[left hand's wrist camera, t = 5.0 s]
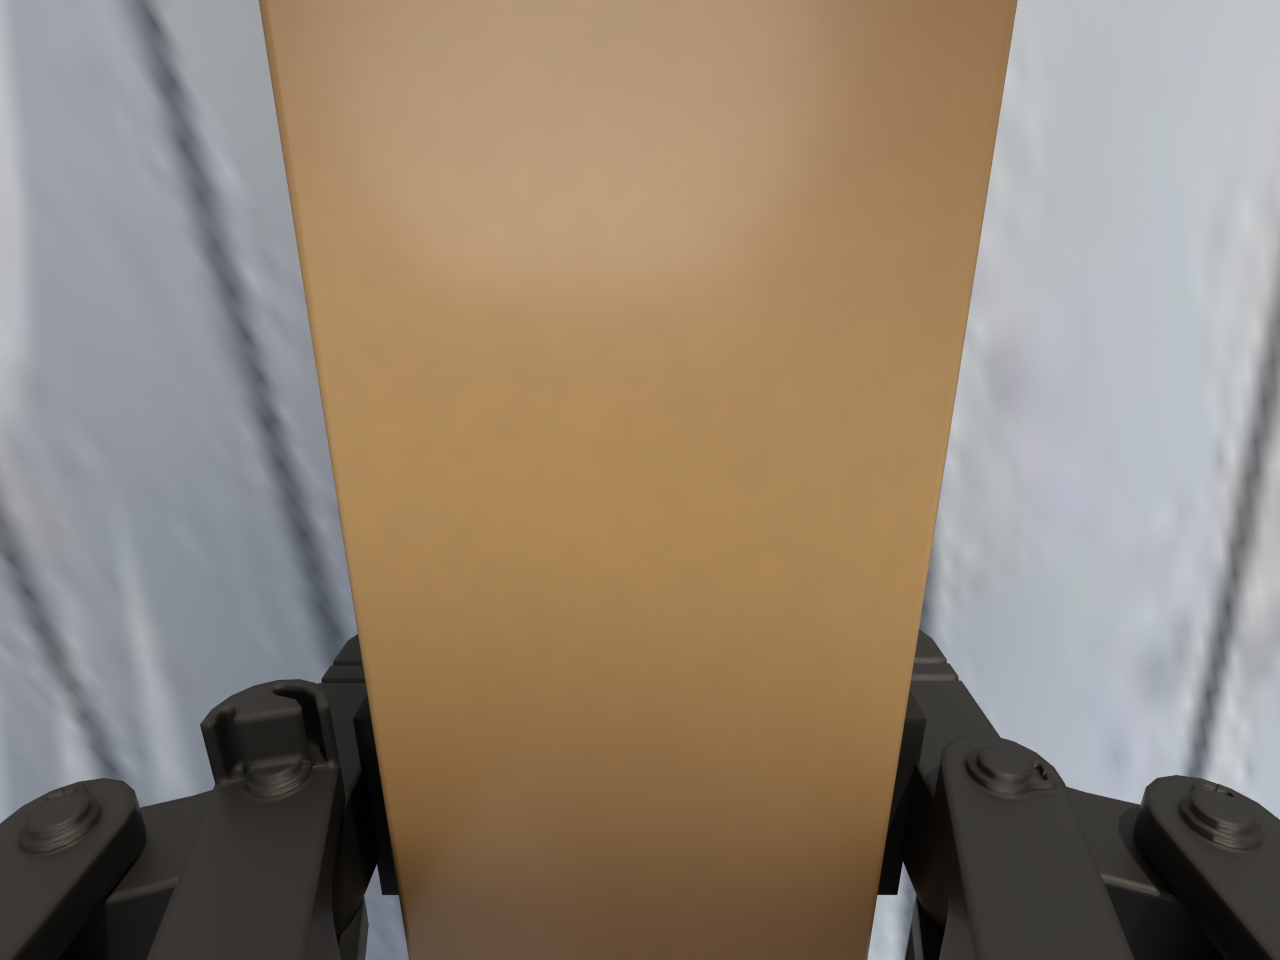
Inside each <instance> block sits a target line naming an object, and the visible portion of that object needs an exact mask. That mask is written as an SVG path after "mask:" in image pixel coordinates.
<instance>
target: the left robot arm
mask: <svg viewBox="0 0 1280 960" xmlns="http://www.w3.org/2000/svg"><path fill="white" fill-rule="evenodd" d="M946 660H947V659H946V658H945V656H944V655H943V654H942V652H941V651H940V649H939V648H938V646H937V645H936V643H935V642H934V641H933V639H932V638H930V637H929V636H928V635H926V634H925V633H923V632H922V631H920V630H919V632H918V638H917V645H916V651H915V657H914V664H913V670H912V676H911V683H910V689H909V696H908V702H907V708H906V715H905V721H904V728H903V734H902V740H901V747H900V753H899V759H898V766H897V772H896V779H895V785H894V791H893V798H892V804H891V810H890V817H889V823H888V830H887V836H886V842H885V849H884V855H883V862H882V868H881V874H880V881H879V887H878V893H877V895H897V893H898V887H899V881H900V875H901V869H902V863H903V862H904V865H905V867H906V870H907V872H908V874H909V877H910V879H911V882H912V884H913V887H914V889H915V892H916V899H915V905H914V910H913V916H912V921H911V927H910V932H909V938H908V943H907V949H906V955H905V960H1280V820H1279V819H1278V818H1277V817H1275V816H1274V815H1273V814H1272V813H1270V812H1269V811H1268V810H1266V809H1265V808H1264V807H1262V806H1261V805H1260V804H1259V803H1257V802H1255V801H1253V800H1251V799H1249V798H1248V797H1246V796H1244V795H1242V794H1240V793H1238V792H1236V791H1234V790H1232V789H1231V788H1228V787H1225V786H1222V785H1220V784H1216V783H1214V782H1210V781H1207V780H1204V779H1201V778H1193V777H1186V776H1179V775H1174V776H1167V777H1161V778H1156V779H1155V780H1154V781H1153V782H1152V783H1151V784H1149V785H1148V786H1147V787H1146V789H1145V792H1144V796H1143V799H1142V802H1141V805H1139V804H1134V803H1130V802H1125V801H1121V800H1117V799H1112V798H1108V797H1103V796H1099V795H1095V794H1090V793H1086V792H1082V791H1079V790H1076V789H1072V788H1069V787H1066V785H1065V783H1064V782H1063V780H1062V779H1061V777H1060V776H1059V774H1058V773H1057V771H1056V770H1055V768H1054V767H1053V766H1052V765H1051V764H1049V763H1048V762H1047V761H1046V760H1044V759H1043V758H1042V757H1041V756H1040V755H1038V754H1037V753H1036V752H1034V751H1032V750H1030V749H1028V748H1026V747H1024V746H1022V745H1020V744H1018V743H1016V742H1014V741H1010V740H1006V739H1003V738H1000V736H999V735H998V733H997V732H996V730H995V729H994V727H993V726H992V725H991V723H990V722H989V720H988V719H987V717H986V716H985V714H984V713H983V712H982V710H981V709H980V707H979V706H978V704H977V703H976V701H975V700H974V698H973V697H972V696H971V694H970V693H969V691H968V690H967V688H966V687H965V685H964V684H963V683H962V681H959V680H958V675H957V674H956V672H955V671H954V670H953V668H952V667H951V665H950V664H949V663H947V661H946ZM333 663H334V664H333V666H330V668H329V669H328V671H327V672H326V673H325V675H324V676H323V678H322V682H321V683H319V684H317V683H313V682H309V681H304V680H300V679H295V680H276V681H272V682H268V683H264V684H259V685H255V686H252V687H250V688H248V689H246V690H243V691H241V692H239V693H237V694H234V695H232V696H230V697H229V698H227V699H226V700H225V701H223V702H222V703H220V704H219V705H218V706H216V707H215V708H213V709H212V710H211V711H210V713H209V714H208V715H207V716H206V718H205V719H204V720H203V722H202V723H201V724H200V726H201V730H202V734H203V738H204V742H205V746H206V750H207V753H208V757H209V761H210V765H211V769H212V773H213V777H214V780H215V787H214V789H213V790H211V791H208V792H204V793H201V794H198V795H194V796H190V797H185V798H181V799H177V800H172V801H168V802H164V803H159V804H155V805H150V806H146V807H142V808H140V807H139V804H138V801H137V798H136V794H135V791H134V790H133V789H132V788H131V787H130V786H128V785H127V784H126V783H125V782H124V781H119V780H112V779H106V778H103V779H95V780H88V781H81V782H77V783H74V784H71V785H67V786H65V787H61V788H59V789H56V790H53V791H50V792H48V793H47V794H45V795H43V796H41V797H39V798H37V799H35V800H33V801H32V802H30V803H28V804H26V805H24V806H22V807H21V808H20V809H18V810H17V811H16V812H15V813H13V814H12V815H11V816H9V817H8V818H7V819H6V820H4V821H3V822H2V823H1V824H0V960H365V955H366V945H367V935H368V918H367V911H366V905H365V899H364V894H365V892H366V889H367V887H368V884H369V882H370V879H371V877H372V875H373V872H374V870H375V867H376V865H377V866H378V872H379V878H380V884H381V890H382V895H399V891H398V885H397V879H396V872H395V866H394V860H393V853H392V847H391V840H390V834H389V828H388V821H387V815H386V808H385V802H384V796H383V789H382V783H381V777H380V770H379V764H378V757H377V751H376V745H375V738H374V732H373V726H372V719H371V713H370V706H369V700H368V694H367V687H366V681H365V674H364V668H363V662H362V655H361V649H360V643H359V636H358V634H357V635H356V636H354V637H353V638H351V639H350V640H349V641H347V643H346V644H345V646H344V647H343V649H342V650H341V652H340V653H339V654H338V656H337V657H336V659H335V660H334V662H333Z"/></svg>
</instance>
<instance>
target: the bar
mask: <svg viewBox="0 0 1280 960" xmlns="http://www.w3.org/2000/svg"><path fill="white" fill-rule="evenodd" d="M259 4H260V11H261V17H262V24H263V30H264V36H265V43H266V49H267V55H268V62H269V68H270V75H271V81H272V87H273V94H274V100H275V106H276V113H277V119H278V126H279V132H280V138H281V145H282V151H283V158H284V164H285V170H286V177H287V183H288V189H289V196H290V202H291V209H292V215H293V221H294V228H295V234H296V240H297V247H298V253H299V260H300V266H301V272H302V279H303V285H304V292H305V298H306V304H307V311H308V317H309V323H310V330H311V336H312V343H313V349H314V355H315V362H316V368H317V375H318V381H319V387H320V394H321V400H322V406H323V413H324V419H325V426H326V432H327V438H328V445H329V451H330V457H331V464H332V470H333V477H334V483H335V489H336V496H337V502H338V509H339V515H340V521H341V528H342V534H343V540H344V547H345V553H346V560H347V566H348V572H349V579H350V585H351V591H352V598H353V604H354V611H355V617H356V623H357V630H358V636H359V643H360V649H361V655H362V662H363V668H364V674H365V681H366V687H367V694H368V700H369V706H370V713H371V719H372V726H373V732H374V738H375V745H376V751H377V757H378V764H379V770H380V777H381V783H382V789H383V796H384V802H385V808H386V815H387V821H388V828H389V834H390V840H391V847H392V853H393V860H394V866H395V872H396V879H397V885H398V891H399V898H400V904H401V911H402V917H403V923H404V930H405V936H406V943H407V949H408V955H409V960H867V957H868V951H869V944H870V938H871V932H872V925H873V919H874V913H875V906H876V900H877V893H878V887H879V881H880V874H881V868H882V862H883V855H884V849H885V842H886V836H887V830H888V823H889V817H890V810H891V804H892V798H893V791H894V785H895V779H896V772H897V766H898V759H899V753H900V747H901V740H902V734H903V728H904V721H905V715H906V708H907V702H908V696H909V689H910V683H911V676H912V670H913V664H914V657H915V651H916V645H917V638H918V632H919V625H920V619H921V613H922V606H923V600H924V594H925V587H926V581H927V574H928V568H929V562H930V555H931V549H932V542H933V536H934V530H935V523H936V517H937V511H938V504H939V498H940V491H941V485H942V479H943V472H944V466H945V459H946V453H947V447H948V440H949V434H950V428H951V421H952V415H953V408H954V402H955V396H956V389H957V383H958V377H959V370H960V364H961V357H962V351H963V345H964V338H965V332H966V325H967V319H968V313H969V306H970V300H971V294H972V287H973V281H974V274H975V268H976V262H977V255H978V249H979V243H980V236H981V230H982V223H983V217H984V211H985V204H986V198H987V191H988V185H989V179H990V172H991V166H992V160H993V153H994V147H995V140H996V134H997V128H998V121H999V115H1000V109H1001V102H1002V96H1003V89H1004V83H1005V77H1006V70H1007V64H1008V57H1009V51H1010V45H1011V38H1012V32H1013V26H1014V19H1015V13H1016V6H1017V0H259Z"/></svg>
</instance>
